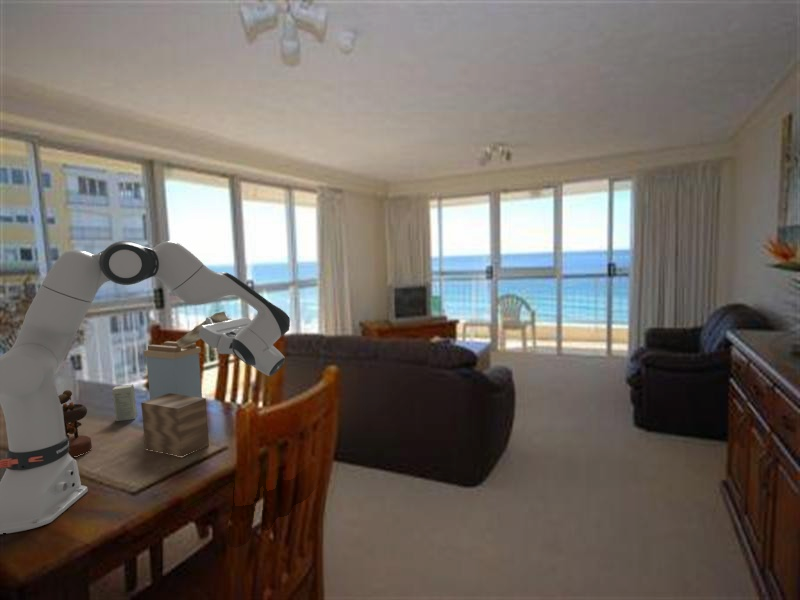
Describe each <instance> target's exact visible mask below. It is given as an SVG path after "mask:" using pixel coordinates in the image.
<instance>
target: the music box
mask: <svg viewBox="0 0 800 600" xmlns="http://www.w3.org/2000/svg"><path fill="white" fill-rule="evenodd" d="M72 395H73V393H72V391H71V390H70V389H67V390H63V392H62V394H58V397H59V400H60V403H61V405H62V408H63V417H64V426H65V436H67V437H68V441H69V452H68V453H69V454H70V456H71V457H74V456H78V455H80V454H83V453H86V452H88V451H89V450H90V449H91V448H92V449H93V446H92V438H91V437H90V436H88V435H79V431H78V428H79V427H80V426H82V425H83V424H82V423H81V422H80V421H81V420H83V419H84V418H85V417H86V416H87V414H88V409H87V407H86V406H85V405H84V404H80V403H75V404H74V402H72ZM69 401H71V402H69ZM67 402H69V404H67ZM71 435H73V436H71ZM88 453H89V452H88Z"/></svg>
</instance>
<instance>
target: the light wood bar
mask: <svg viewBox="0 0 800 600" xmlns="http://www.w3.org/2000/svg"><path fill="white" fill-rule="evenodd" d="M210 317H212V318H213V319H214V320H213V322H215V323H218V322H223V321H227V320H228V319H227V317H228V316H227V314H226V312H225V311H221V312H216V313H214V314H213V315H211V316H210ZM203 325H208V323H206V322H205V320H203V321H202V323H200V324H199V325H197V326H196V327H194V328H193V329H191V330H190V331H188V332H187V333H185V334H184V336H182V337H180V338H178V339H177V340H176V341H175V342H177V344H178V346H179V347H181V349H182V348H186V347H189V346H191V345H192V344H193V343H196V342H198V341H200V340H202V339H201V338H200V337H199V331H200V328H201V326H203Z"/></svg>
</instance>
